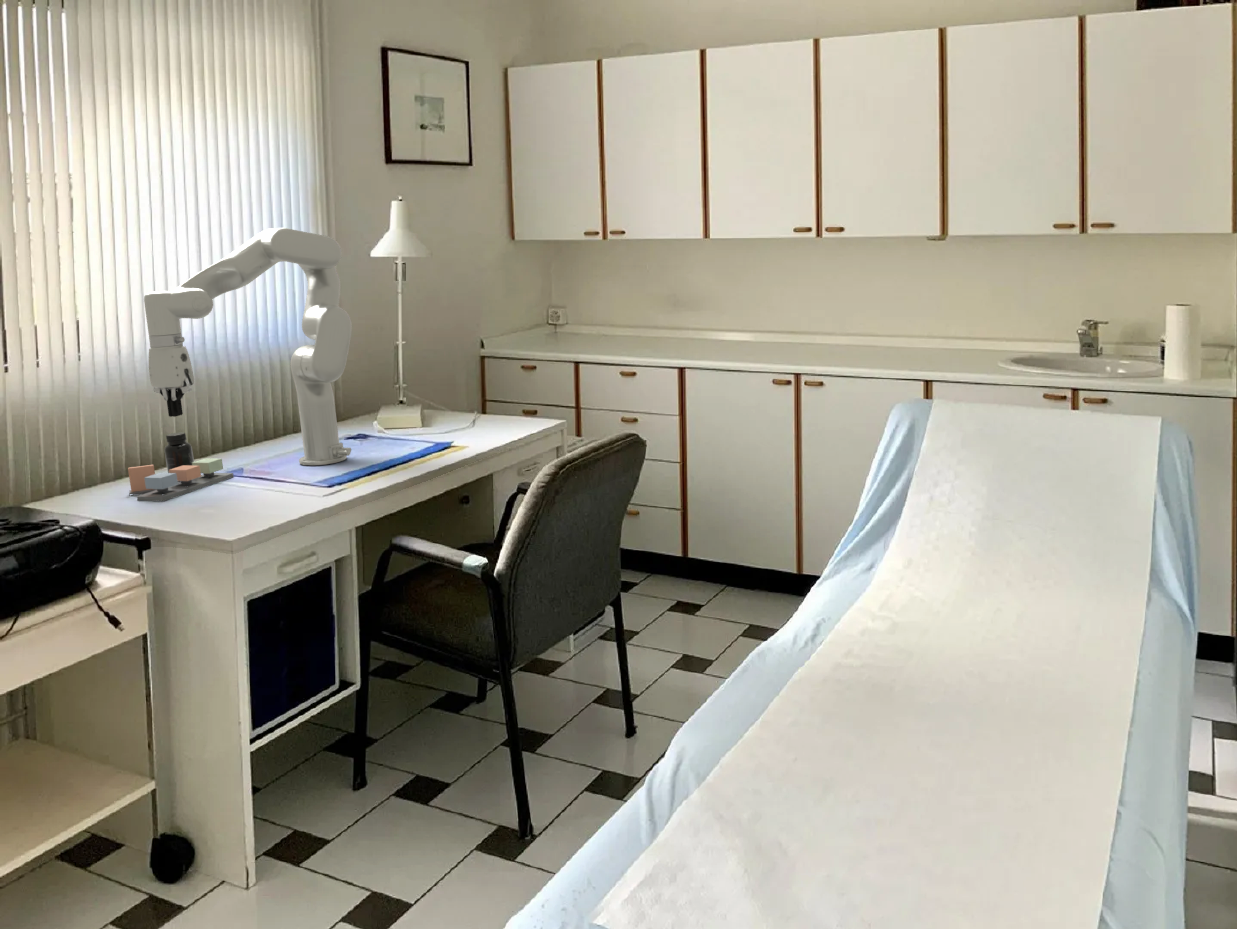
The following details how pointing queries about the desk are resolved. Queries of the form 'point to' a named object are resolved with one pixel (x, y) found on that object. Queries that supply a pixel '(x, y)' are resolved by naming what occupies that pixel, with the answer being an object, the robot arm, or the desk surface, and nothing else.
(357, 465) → the desk surface
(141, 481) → the upright salmon panel
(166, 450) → the supplement bottle
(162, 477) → the button slate
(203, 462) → the button sage
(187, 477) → the button terracotta
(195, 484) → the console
